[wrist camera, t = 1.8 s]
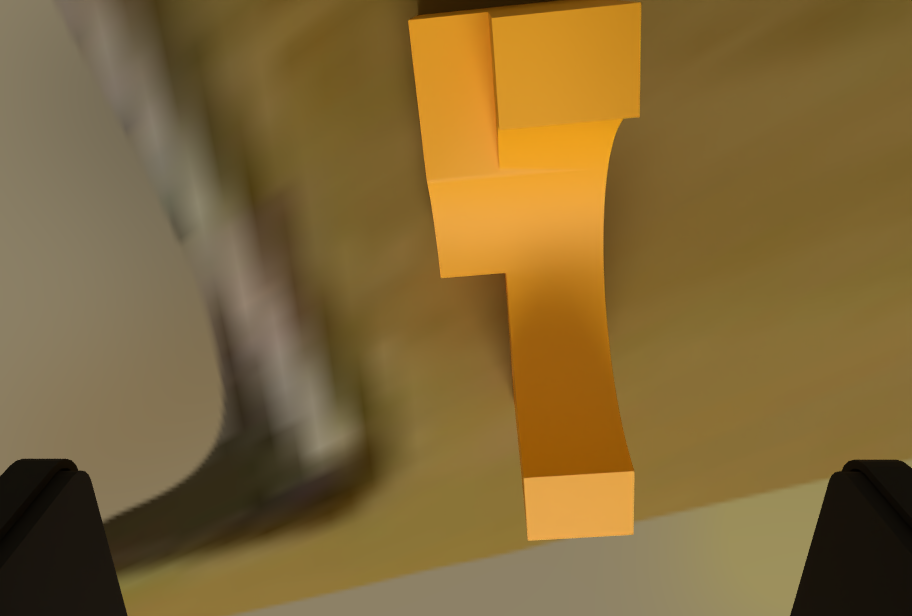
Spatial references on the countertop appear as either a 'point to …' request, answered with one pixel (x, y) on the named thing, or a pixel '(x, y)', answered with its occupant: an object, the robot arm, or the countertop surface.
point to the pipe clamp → (538, 224)
